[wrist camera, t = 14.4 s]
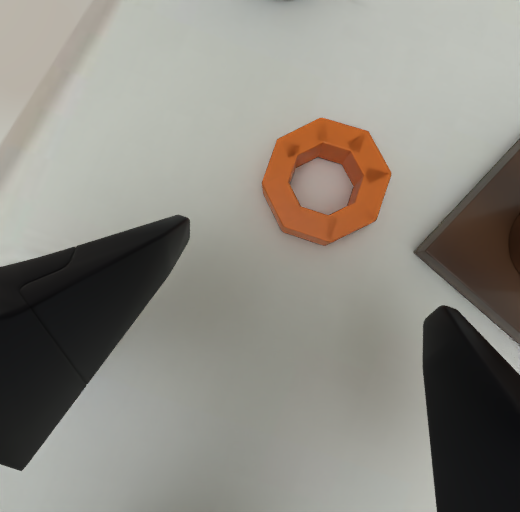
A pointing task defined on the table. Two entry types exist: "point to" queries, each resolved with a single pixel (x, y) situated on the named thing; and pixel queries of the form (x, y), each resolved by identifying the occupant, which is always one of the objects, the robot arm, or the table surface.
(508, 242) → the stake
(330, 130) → the ring
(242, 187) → the table surface
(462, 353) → the robot arm
